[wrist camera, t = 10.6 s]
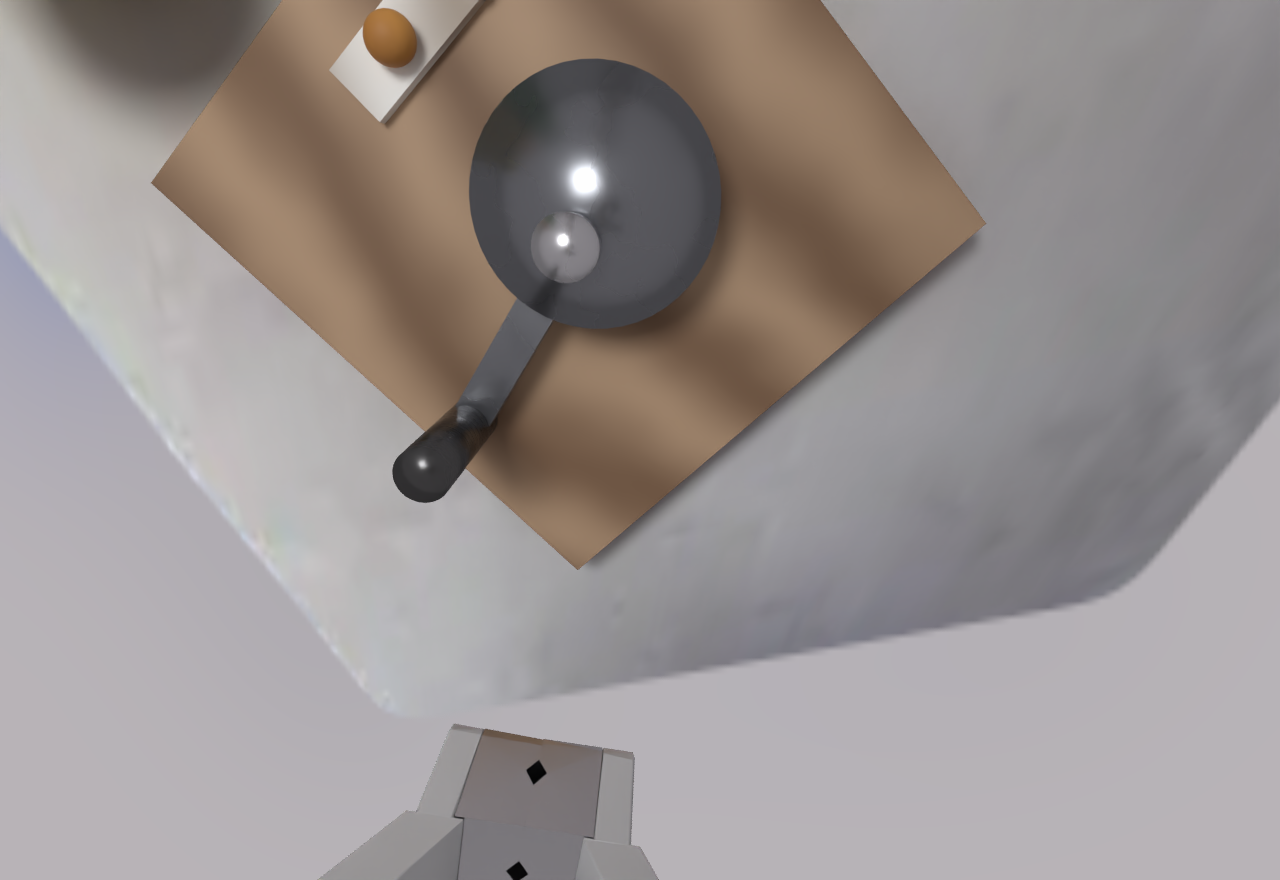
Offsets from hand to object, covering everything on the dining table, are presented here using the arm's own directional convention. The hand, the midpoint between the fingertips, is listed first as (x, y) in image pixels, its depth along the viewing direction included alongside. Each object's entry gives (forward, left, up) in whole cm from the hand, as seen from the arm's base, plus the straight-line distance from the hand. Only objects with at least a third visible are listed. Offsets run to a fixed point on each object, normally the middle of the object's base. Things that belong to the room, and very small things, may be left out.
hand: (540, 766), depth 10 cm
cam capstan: (-2, -6, -18) cm, 20 cm away
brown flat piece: (-5, -8, -21) cm, 23 cm away
